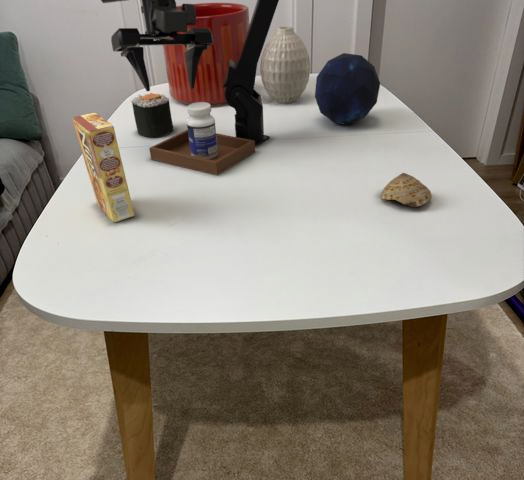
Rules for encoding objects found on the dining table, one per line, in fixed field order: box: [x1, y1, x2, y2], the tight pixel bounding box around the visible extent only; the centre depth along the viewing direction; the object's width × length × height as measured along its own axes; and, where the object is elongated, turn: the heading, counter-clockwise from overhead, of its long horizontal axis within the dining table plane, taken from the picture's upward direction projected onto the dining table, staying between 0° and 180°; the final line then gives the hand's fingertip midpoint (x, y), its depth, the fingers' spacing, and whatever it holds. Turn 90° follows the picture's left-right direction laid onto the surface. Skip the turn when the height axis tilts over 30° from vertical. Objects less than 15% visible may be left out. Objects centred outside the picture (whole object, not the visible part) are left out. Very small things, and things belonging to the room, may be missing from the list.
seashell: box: [380, 172, 433, 208], centre depth 88 cm, size 8×6×8 cm
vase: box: [259, 25, 311, 104], centre depth 130 cm, size 13×13×17 cm
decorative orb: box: [314, 52, 381, 126], centre depth 116 cm, size 14×15×15 cm
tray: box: [148, 129, 256, 176], centre depth 107 cm, size 14×18×2 cm
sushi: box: [130, 92, 174, 139], centre depth 118 cm, size 8×8×8 cm
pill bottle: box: [186, 102, 218, 159], centre depth 103 cm, size 6×6×10 cm
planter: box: [162, 2, 250, 107], centre depth 135 cm, size 23×23×20 cm
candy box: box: [72, 112, 135, 223], centre depth 85 cm, size 9×4×15 cm, turn 33°
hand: (170, 89), depth 100 cm, fingers open, 9 cm apart
